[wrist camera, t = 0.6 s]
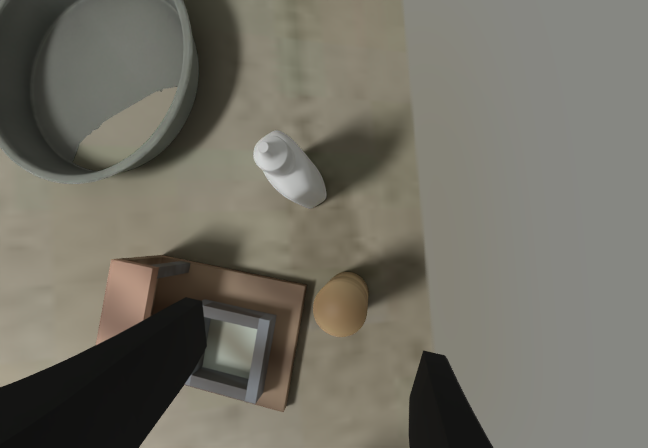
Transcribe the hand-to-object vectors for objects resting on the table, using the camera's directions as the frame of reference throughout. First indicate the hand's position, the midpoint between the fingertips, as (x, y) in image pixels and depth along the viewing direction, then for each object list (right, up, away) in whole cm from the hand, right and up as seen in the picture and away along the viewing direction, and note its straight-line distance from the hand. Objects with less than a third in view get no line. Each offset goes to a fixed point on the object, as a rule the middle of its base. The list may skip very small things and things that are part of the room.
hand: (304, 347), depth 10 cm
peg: (+3, -3, +20) cm, 20 cm away
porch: (-10, -7, +22) cm, 25 cm away
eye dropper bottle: (-1, +8, +21) cm, 23 cm away
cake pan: (-23, +20, +26) cm, 40 cm away
